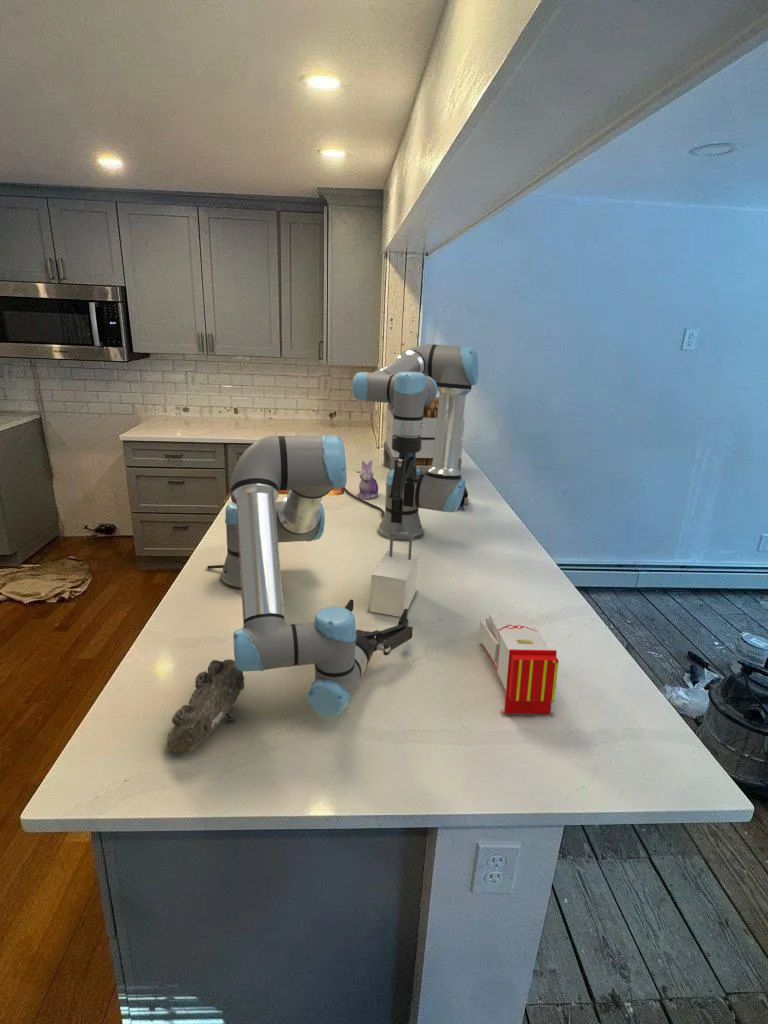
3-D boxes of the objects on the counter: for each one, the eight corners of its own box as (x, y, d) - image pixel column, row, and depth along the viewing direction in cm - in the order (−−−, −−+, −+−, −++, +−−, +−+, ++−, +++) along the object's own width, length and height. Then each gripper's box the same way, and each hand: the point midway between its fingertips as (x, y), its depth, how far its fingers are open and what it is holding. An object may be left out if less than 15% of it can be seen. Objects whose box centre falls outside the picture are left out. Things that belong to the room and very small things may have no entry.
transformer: (382, 463, 289) (386, 382, 275) (445, 464, 293) (451, 384, 279) (390, 482, 257) (394, 392, 243) (460, 483, 261) (468, 394, 247)
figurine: (363, 500, 232) (364, 465, 227) (352, 493, 240) (353, 459, 235) (383, 498, 236) (385, 463, 231) (372, 491, 244) (373, 457, 239)
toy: (524, 600, 137) (567, 656, 108) (520, 651, 140) (560, 720, 111) (474, 599, 137) (504, 655, 107) (471, 650, 140) (498, 719, 110)
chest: (384, 586, 162) (386, 554, 158) (415, 591, 160) (418, 559, 156) (369, 611, 148) (371, 577, 145) (403, 617, 146) (405, 583, 143)
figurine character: (468, 514, 225) (463, 498, 239) (470, 497, 222) (465, 482, 235) (451, 514, 225) (447, 498, 238) (453, 497, 222) (449, 481, 235)
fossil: (192, 660, 117) (244, 628, 112) (224, 691, 120) (276, 661, 115) (142, 746, 98) (202, 712, 93) (182, 779, 101) (242, 748, 96)
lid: (387, 553, 159) (388, 526, 156) (418, 558, 157) (420, 531, 154) (371, 577, 145) (372, 548, 142) (405, 582, 143) (407, 553, 140)
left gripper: (295, 661, 122) (329, 614, 141) (408, 684, 116) (428, 631, 135) (294, 631, 119) (330, 587, 139) (410, 653, 113) (430, 604, 133)
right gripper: (410, 447, 131) (405, 532, 138) (430, 427, 154) (425, 501, 161) (379, 443, 133) (376, 528, 140) (404, 424, 155) (399, 498, 163)
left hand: (378, 609), depth 137 cm, fingers open, 13 cm apart
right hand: (402, 514), depth 150 cm, fingers open, 13 cm apart
